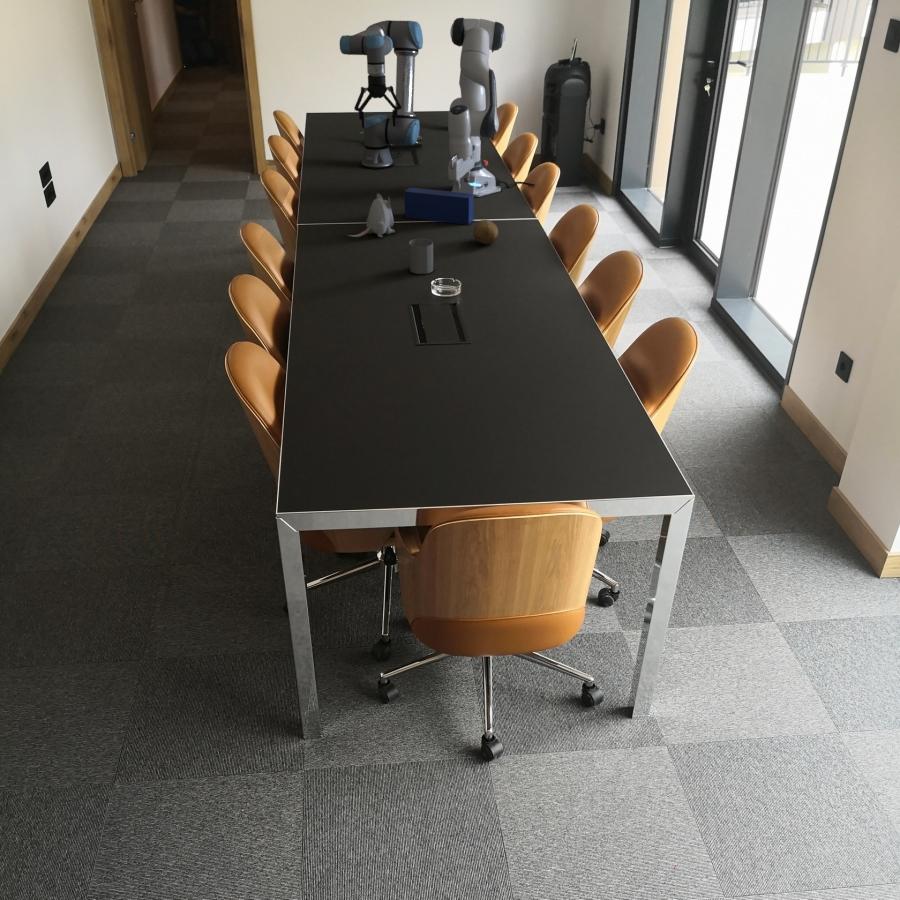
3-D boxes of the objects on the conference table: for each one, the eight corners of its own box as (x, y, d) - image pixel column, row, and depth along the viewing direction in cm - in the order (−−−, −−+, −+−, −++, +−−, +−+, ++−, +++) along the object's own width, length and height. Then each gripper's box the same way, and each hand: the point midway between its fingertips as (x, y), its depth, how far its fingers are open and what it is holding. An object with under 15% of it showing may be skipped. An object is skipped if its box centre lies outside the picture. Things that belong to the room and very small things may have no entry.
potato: (495, 236, 338) (496, 216, 334) (500, 248, 327) (500, 227, 322) (471, 236, 338) (471, 216, 334) (474, 249, 326) (474, 228, 322)
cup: (409, 265, 311) (408, 238, 306) (432, 265, 312) (431, 238, 307) (410, 274, 304) (409, 246, 299) (433, 273, 305) (433, 246, 299)
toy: (400, 232, 342) (399, 194, 334) (355, 247, 327) (353, 208, 319) (385, 227, 347) (383, 189, 339) (340, 242, 333) (337, 203, 324)
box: (405, 217, 359) (404, 191, 353) (410, 213, 363) (409, 187, 358) (468, 224, 351) (469, 198, 345) (473, 220, 356) (473, 193, 350)
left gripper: (347, 77, 362) (350, 129, 374) (406, 75, 366) (408, 127, 378) (346, 73, 369) (349, 126, 380) (404, 72, 372) (405, 123, 384)
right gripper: (458, 158, 330) (460, 194, 338) (477, 143, 346) (478, 178, 354) (443, 157, 332) (445, 193, 340) (462, 143, 348) (463, 177, 356)
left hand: (378, 126), depth 379 cm, fingers open, 13 cm apart
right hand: (462, 185), depth 347 cm, fingers open, 8 cm apart
